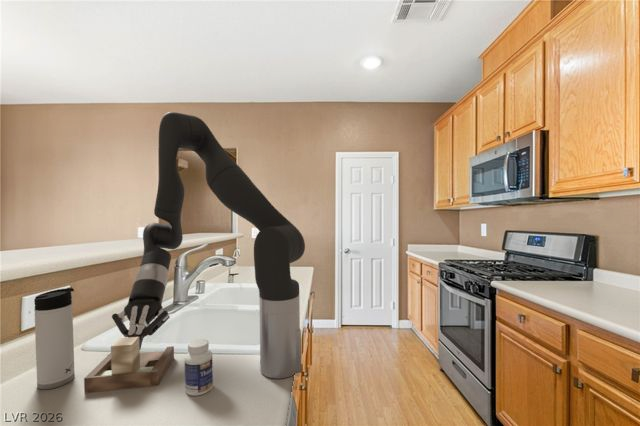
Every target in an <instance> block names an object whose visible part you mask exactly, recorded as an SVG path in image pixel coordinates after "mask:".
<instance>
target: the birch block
mask: <svg viewBox="0 0 640 426" xmlns="http://www.w3.org/2000/svg"><path fill="white" fill-rule="evenodd" d="M140 351H141V349H140V347H139V337H129V338H128V337H120V338H119V337H118V339H117V340H116V341H115V342H114V343H113V344H111V345H110V353H111V368H112V375H113V374H123V373H134V372H137V371H138V370H139V368H140V353H141V352H140Z"/></svg>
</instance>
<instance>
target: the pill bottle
mask: <svg viewBox="0 0 640 426" xmlns="http://www.w3.org/2000/svg"><path fill="white" fill-rule="evenodd" d="M209 343H210V342H209V340H208V339H206V338H198V339H193V340H191V341H189V342H188V344H187V351H188V352H187V354H186V355H185V357H184V387H185V388H184V389H185V393H186V394H187V395H189V396H192V397H193V396H195V397H196V396H202V395H204V394H207V393H208V392H210V391H211V390H212V388H213V386H214V385H213V383H214V379H213V377H214V375H213V373H214V372H213V369H214V367H213V351H211V349H209V347H210V346H209Z"/></svg>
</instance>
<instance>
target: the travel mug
mask: <svg viewBox="0 0 640 426" xmlns="http://www.w3.org/2000/svg"><path fill="white" fill-rule="evenodd" d="M72 292H75V290H74V288H73V287H72V286H71V287H67V288H61V289H60V288H59V289H54V290H50V291H46V292H43V293H40V294H39V295H36V296H34V297H35V298H34V302H33V303H34V331H35V334H34V335H35V340H34V341H35V361H36V362H35V363H36V364H35V365H36V366H35V367H36V385H37V386H36V387H37V389H39V390H52V389H55V388H60V387H62V386H64V385H66V384H68V383H70V382H72V380H73V379H74V378H75V376H76V375H75V353H74V352H75V350H74V349H75V346H74V320H73V319H74V316H73V301H72V299H73V297H72Z"/></svg>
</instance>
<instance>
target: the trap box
mask: <svg viewBox="0 0 640 426" xmlns="http://www.w3.org/2000/svg"><path fill="white" fill-rule="evenodd" d="M174 347H175V346H173V345H172V346H167V347H166V348H165V349H164V350H161V351H160V350H159V351H147V352H140V368H139V370H138V371H137V372H134V373H123V374H113V375H112V368H111V352H110V353H109V354H108V355H107V356H106V357H104V359H103V360H101V361H100V362H99V363H98V364H97V365H96V366H95V367H94V368H93V369H92V370H91V371H90V372H88V374H87V375H86V376H85V377H84V378H83V383H84V384H83V388H84V393H85V394H86V393H97V392H105V391H116V390H124V389H125V390H126V389H134V388H145V387H154V386H155V387H157V386H159V384H160V383H161V381H162V379H163V377H164V375H165V374H166V372H167V370H168V369H169V367H170V366H171V364H172V362H173V361H174V359H175V349H174Z"/></svg>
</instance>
